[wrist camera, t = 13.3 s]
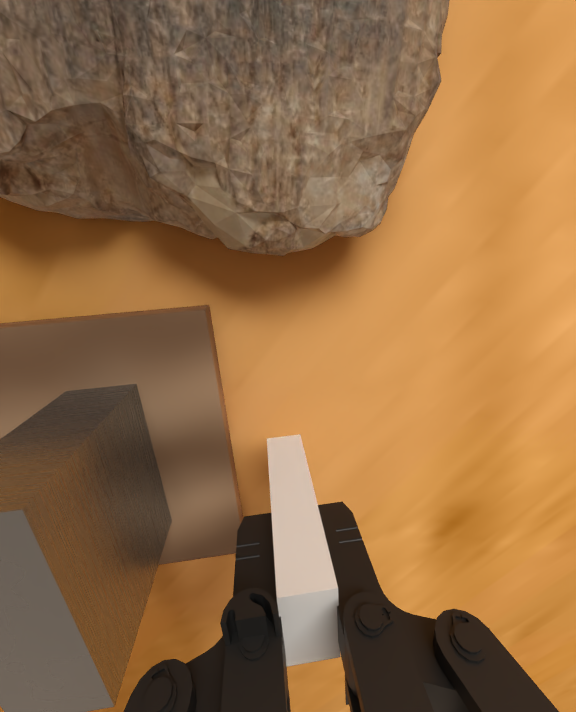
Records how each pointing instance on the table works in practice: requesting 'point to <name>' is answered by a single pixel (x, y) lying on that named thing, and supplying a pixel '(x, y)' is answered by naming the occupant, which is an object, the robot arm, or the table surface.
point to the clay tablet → (216, 112)
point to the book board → (159, 401)
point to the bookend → (76, 548)
